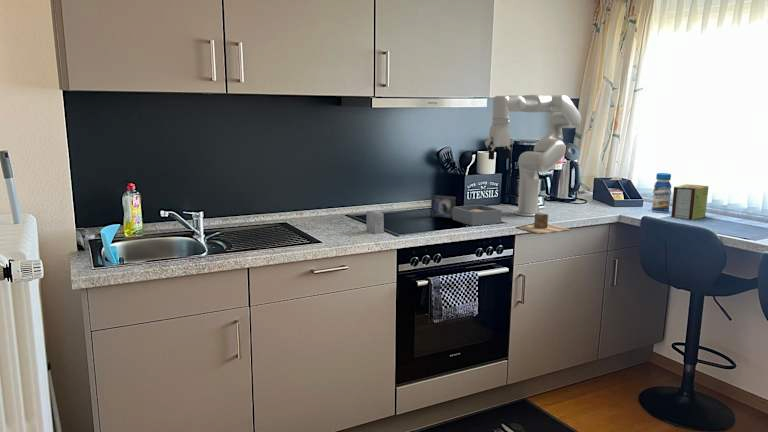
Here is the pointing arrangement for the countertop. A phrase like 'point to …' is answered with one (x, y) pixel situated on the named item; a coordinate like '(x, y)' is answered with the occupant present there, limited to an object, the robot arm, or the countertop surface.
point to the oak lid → (542, 225)
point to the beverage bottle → (661, 193)
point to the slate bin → (477, 215)
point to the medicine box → (375, 222)
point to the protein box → (689, 201)
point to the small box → (442, 206)
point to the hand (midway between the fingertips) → (499, 158)
